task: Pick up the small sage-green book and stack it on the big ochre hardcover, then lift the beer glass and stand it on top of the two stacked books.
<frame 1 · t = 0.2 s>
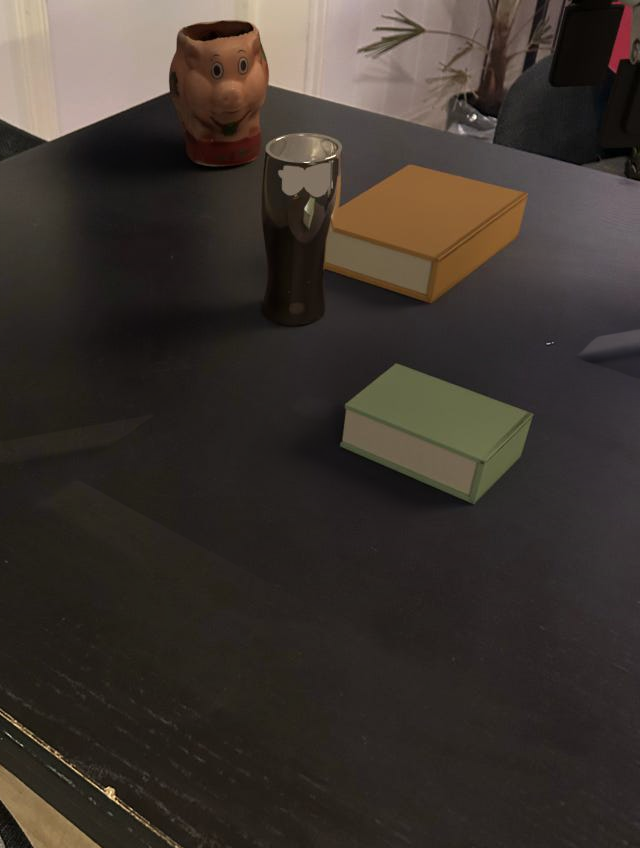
hand: (599, 113, 51), 26 cm above the table, tool pointing down, fingers open, 9 cm apart
beer glass: (293, 312, 89), on the table
small book: (429, 451, 73), on the table
decorative planter: (218, 152, 118), on the table
big book: (416, 250, 96), on the table
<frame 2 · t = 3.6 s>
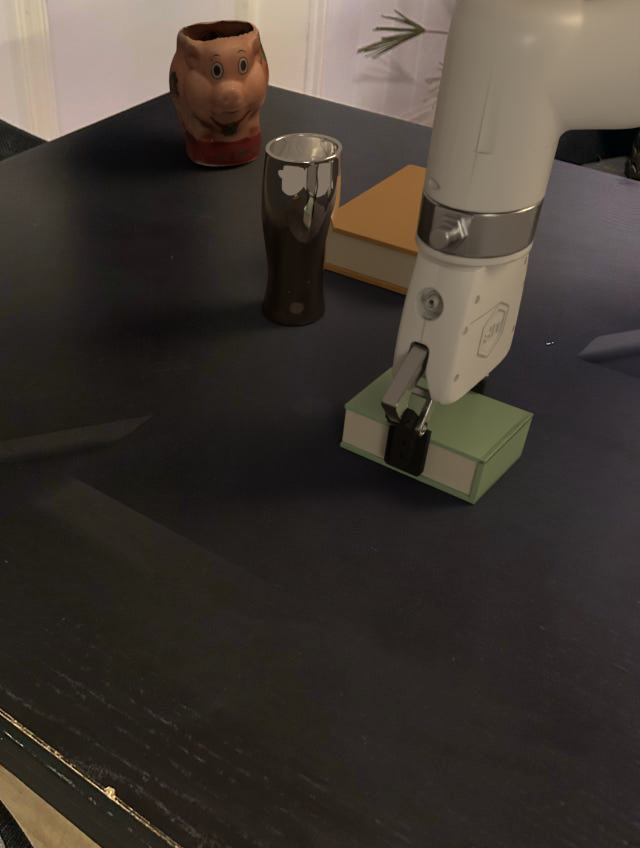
hand: (430, 441, 72), 1 cm above the table, tool pointing down, fingers closed on small book, 7 cm apart
small book: (428, 451, 73), on the table, touching gripper
everything else where it was.
when the fingers open (5 cm above the table, at t = 13.1 s): small book stays where it is, resting on big book.
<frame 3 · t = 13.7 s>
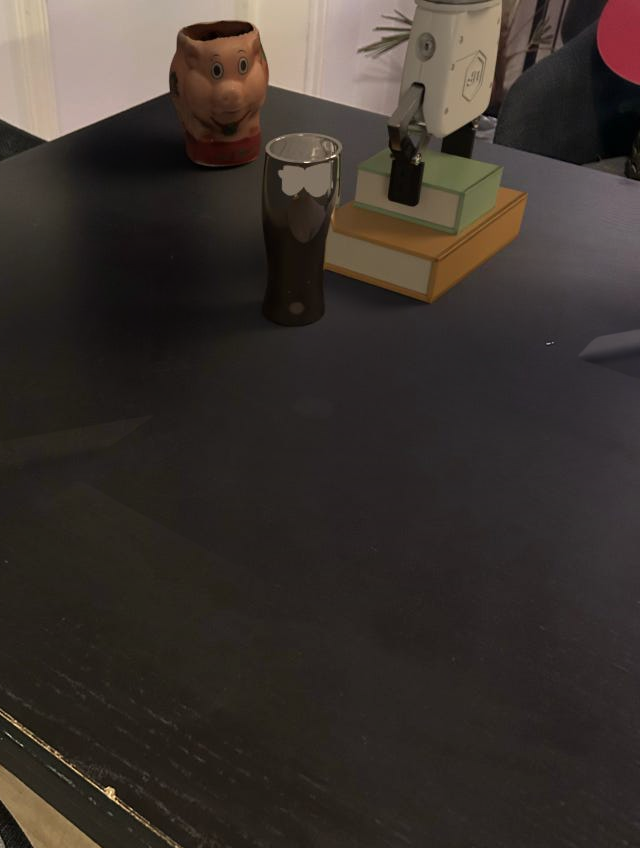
hand: (428, 186, 91), 7 cm above the table, tool pointing down, fingers open, 9 cm apart
small book: (422, 207, 93), point 4 cm above the table, touching big book
everything else where it was.
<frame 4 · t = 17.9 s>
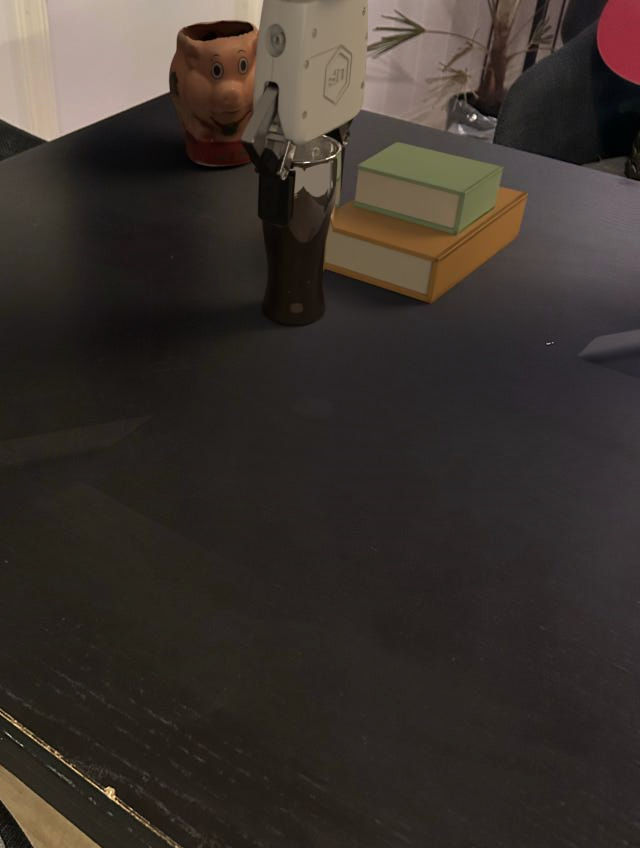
hand: (299, 204, 81), 10 cm above the table, tool pointing down, fingers closed on beer glass, 7 cm apart
beer glass: (293, 312, 89), on the table, touching gripper
everything else where it was.
when the fingers open (19 cm above the table, at t = 25.3 s): beer glass stays where it is, resting on small book.
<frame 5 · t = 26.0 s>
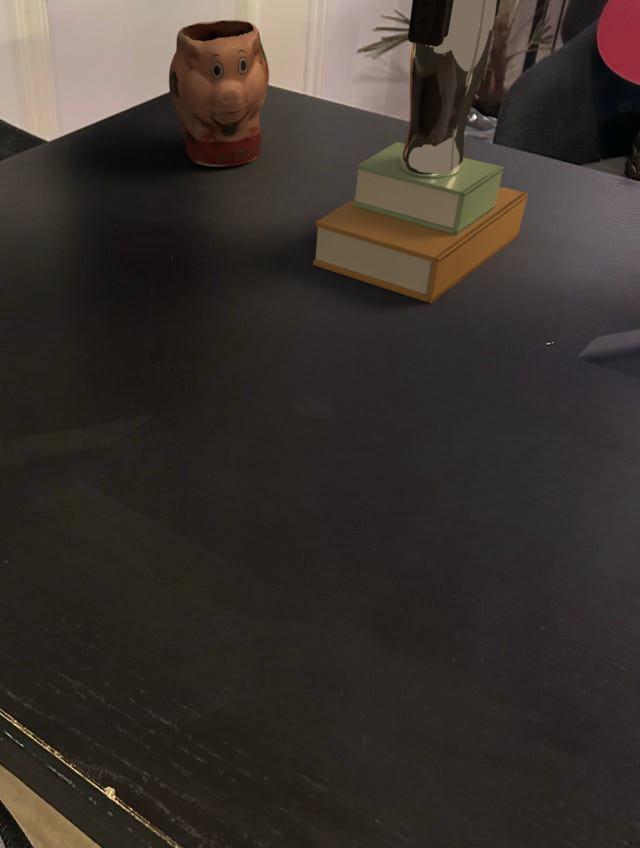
hand: (453, 29, 81), 20 cm above the table, tool pointing down, fingers open, 9 cm apart
beer glass: (430, 168, 90), point 8 cm above the table, touching small book
small book: (422, 207, 93), point 4 cm above the table, touching beer glass, big book
everything else where it was.
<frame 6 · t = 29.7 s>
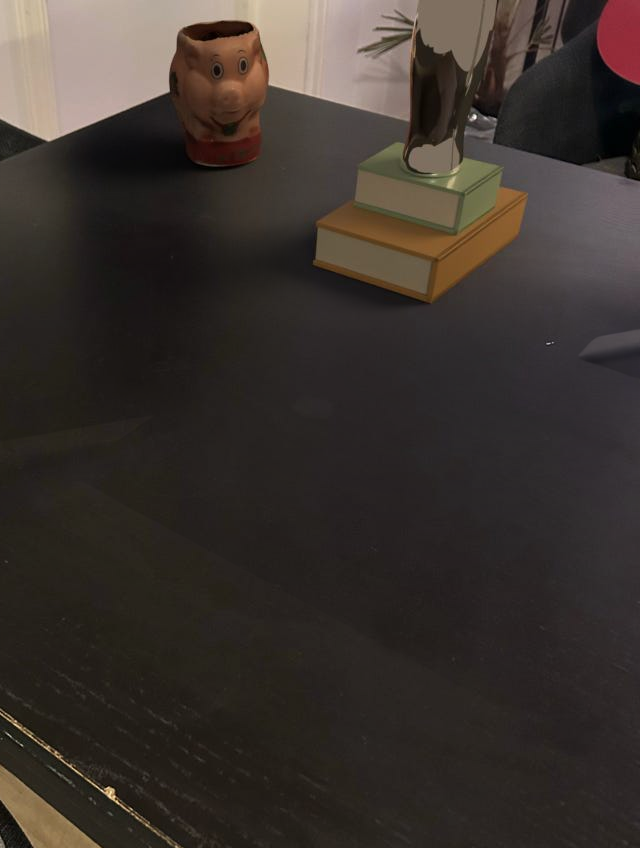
nothing on the table moved.
at the end: small book 0.1 cm off-centre on the big book, point 4.5 cm above the big book's base; beer glass 0.0 cm off-centre on the big book, point 8.3 cm above the big book's base; beer glass tilted 0° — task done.
